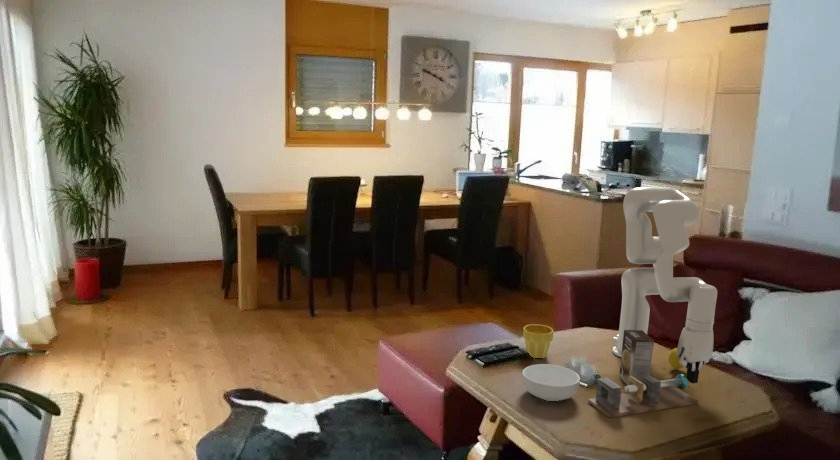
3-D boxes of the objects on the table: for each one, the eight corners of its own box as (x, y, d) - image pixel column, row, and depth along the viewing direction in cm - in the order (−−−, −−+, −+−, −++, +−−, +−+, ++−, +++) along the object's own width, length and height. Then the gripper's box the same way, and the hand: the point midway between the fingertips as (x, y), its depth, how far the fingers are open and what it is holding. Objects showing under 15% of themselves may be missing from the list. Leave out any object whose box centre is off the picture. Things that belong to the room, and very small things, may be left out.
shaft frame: (673, 389, 202) (676, 365, 201) (697, 403, 193) (700, 378, 191) (588, 402, 191) (590, 377, 189) (609, 417, 182) (612, 391, 180)
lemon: (686, 374, 214) (689, 351, 213) (668, 372, 215) (671, 349, 214) (683, 367, 220) (686, 345, 218) (666, 365, 221) (668, 343, 219)
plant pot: (515, 353, 226) (517, 326, 224) (535, 347, 232) (537, 321, 230) (536, 363, 218) (539, 336, 216) (557, 357, 224) (560, 330, 222)
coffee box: (618, 376, 210) (623, 329, 207) (637, 376, 211) (642, 329, 208) (629, 388, 202) (634, 339, 198) (649, 388, 202) (654, 339, 199)
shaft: (677, 385, 199) (678, 371, 198) (687, 391, 195) (689, 377, 194) (621, 393, 191) (622, 379, 190) (631, 400, 187) (632, 386, 186)
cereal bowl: (580, 390, 199) (582, 368, 198) (575, 413, 183) (577, 390, 182) (526, 380, 204) (527, 359, 203) (516, 402, 189) (517, 379, 187)
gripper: (708, 318, 200) (701, 373, 204) (670, 322, 194) (663, 379, 198) (727, 326, 193) (719, 383, 197) (689, 331, 188) (681, 389, 191)
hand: (691, 381), depth 197 cm, fingers closed
